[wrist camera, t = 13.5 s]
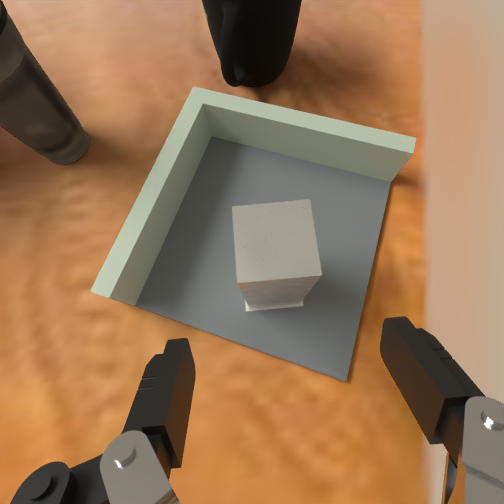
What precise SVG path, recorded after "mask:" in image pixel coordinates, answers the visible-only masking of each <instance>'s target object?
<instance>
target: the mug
mask: <svg viewBox="0 0 504 504" xmlns="http://www.w3.org/2000/svg"><path fill="white" fill-rule="evenodd" d="M202 2H203V6H204V10H205V14H206V18H207V22H208V25H209V29H210V32H211V36H212V39H213V42H214V45H215V48H216V51H217V54H218V56H219V59H220V62H221V70H222V74H223V77H224V79H225V81H226V82H227V84H229V85H230V86H233V87H238V86H240V85H246V86H261V85H265V84H267V83H269V82H271V81H273V80H274V79H276V78H277V77H278V76H279V75H280V74H281V72H282V71H283V69H284V67H285V65H286V63H287V61H288V58H289V55H290V52H291V48H292V45H293V41H294V37H295V32H296V27H297V23H298V17H299V12H300V6H301V0H202Z"/></svg>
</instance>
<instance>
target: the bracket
mask: <svg viewBox="0 0 504 504" xmlns="http://www.w3.org/2000/svg"><path fill="white" fill-rule="evenodd" d="M232 215H233V230H234V245H235V260H236V274H237V284H238V286H239V288H240V290H241V292H242V294H243V296H244V299H245V301H246V303H247V305H248V307H249V308H258V307H269V306H280V305H292V304H299V303H300V302H301V301H302V300H303V298H304V297H305V296H306V295H307V293H308V292H309V291H310V290H311V289H312V287H313V286H314V285H315V284H316V282H317V281H318V280H319V279H320V277H321V276H322V271H321V265H320V258H319V252H318V246H317V240H316V234H315V228H314V221H313V215H312V209H311V203H310V199H305V200H295V201H284V202H274V203H263V204H253V205H243V206H232Z"/></svg>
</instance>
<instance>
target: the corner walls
mask: <svg viewBox="0 0 504 504" xmlns="http://www.w3.org/2000/svg"><path fill="white" fill-rule="evenodd" d="M211 137H216V138H220V139H224V140H228V141H232V142H236V143H240V144H243V145H247V146H251V147H255V148H259V149H263V150H267V151H271V152H275V153H279V154H283V155H287V156H291V157H294V158H298V159H302V160H306V161H310V162H314V163H318V164H322V165H326V166H330V167H334V168H338V169H341V170H345V171H349V172H353V173H357V174H361V175H365V176H369V177H373V178H377V179H381V180H385V181H388V182H392V180H393V179H394V178H395V176H396V175H397V174H398V172H399V171H400V170H401V169H402V167H403V166H404V165H405V163H406V162H407V161H408V160H409V158H410V157H411V156H412V154H413V152H414V147H415V142H416V138H414V137H410V136H406V135H401V134H397V133H393V132H388V131H384V130H380V129H376V128H371V127H367V126H363V125H358V124H354V123H350V122H345V121H341V120H337V119H332V118H328V117H324V116H319V115H315V114H311V113H306V112H302V111H298V110H293V109H289V108H285V107H280V106H276V105H272V104H267V103H263V102H259V101H254V100H250V99H246V98H241V97H237V96H233V95H228V94H224V93H220V92H215V91H211V90H207V89H202V88H198V87H194V86H193V88H192V90H191V92H190V94H189V96H188V98H187V100H186V102H185V104H184V106H183V108H182V110H181V112H180V114H179V116H178V118H177V120H176V122H175V124H174V126H173V128H172V130H171V132H170V134H169V136H168V138H167V140H166V142H165V144H164V146H163V148H162V150H161V152H160V154H159V156H158V158H157V160H156V162H155V164H154V166H153V168H152V170H151V172H150V173H149V175H148V177H147V179H146V181H145V183H144V185H143V187H142V189H141V191H140V193H139V195H138V197H137V199H136V201H135V203H134V205H133V207H132V209H131V211H130V213H129V215H128V217H127V219H126V221H125V223H124V225H123V227H122V229H121V231H120V233H119V235H118V237H117V239H116V241H115V243H114V245H113V247H112V249H111V251H110V253H109V255H108V257H107V259H106V261H105V263H104V265H103V267H102V269H101V271H100V273H99V275H98V277H97V279H96V281H95V283H94V285H93V286H92V288H91V290H90V292H93V293H96V294H98V295H101V296H104V297H107V298H109V299H113V300H116V301H120V302H123V303H127V304H130V305H134V306H135V305H136V302H137V300H138V298H139V296H140V294H141V291H142V289H143V287H144V285H145V282H146V280H147V278H148V276H149V274H150V271H151V269H152V267H153V265H154V263H155V260H156V258H157V256H158V254H159V252H160V249H161V247H162V245H163V243H164V240H165V238H166V236H167V234H168V232H169V229H170V227H171V225H172V223H173V221H174V218H175V216H176V214H177V212H178V210H179V207H180V205H181V203H182V201H183V198H184V196H185V194H186V192H187V190H188V187H189V185H190V183H191V181H192V179H193V176H194V174H195V172H196V170H197V168H198V165H199V163H200V161H201V159H202V156H203V154H204V152H205V150H206V148H207V145H208V143H209V141H210V139H211Z"/></svg>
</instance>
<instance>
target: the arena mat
mask: <svg viewBox="0 0 504 504" xmlns="http://www.w3.org/2000/svg"><path fill="white" fill-rule="evenodd" d="M390 185H391V182H388V181H385V180H381V179H377V178H373V177H369V176H365V175H361V174H357V173H353V172H349V171H345V170H341V169H338V168H334V167H330V166H326V165H322V164H318V163H314V162H310V161H306V160H302V159H298V158H294V157H291V156H287V155H283V154H279V153H275V152H271V151H267V150H263V149H259V148H255V147H251V146H247V145H243V144H240V143H236V142H232V141H228V140H224V139H220V138H216V137H211V139H210V141H209V143H208V145H207V148H206V150H205V152H204V154H203V156H202V159H201V161H200V163H199V165H198V168H197V170H196V172H195V174H194V176H193V179H192V181H191V183H190V185H189V187H188V190H187V192H186V194H185V196H184V198H183V201H182V203H181V205H180V207H179V210H178V212H177V214H176V216H175V218H174V221H173V223H172V225H171V227H170V229H169V232H168V234H167V236H166V238H165V240H164V243H163V245H162V247H161V249H160V252H159V254H158V256H157V258H156V260H155V263H154V265H153V267H152V269H151V271H150V274H149V276H148V278H147V280H146V282H145V285H144V287H143V289H142V291H141V294H140V296H139V298H138V300H137V302H136V305H135V306H137V307H139V308H142V309H145V310H148V311H151V312H153V313H156V314H159V315H162V316H164V317H167V318H170V319H173V320H176V321H178V322H181V323H184V324H187V325H189V326H192V327H195V328H198V329H201V330H203V331H206V332H209V333H212V334H215V335H217V336H220V337H223V338H226V339H228V340H231V341H234V342H237V343H240V344H242V345H245V346H248V347H251V348H253V349H256V350H259V351H262V352H265V353H267V354H270V355H273V356H276V357H279V358H281V359H284V360H287V361H290V362H292V363H295V364H298V365H301V366H304V367H306V368H309V369H312V370H315V371H317V372H320V373H323V374H326V375H329V376H331V377H334V378H337V379H340V380H343V381H345V382H346V380H347V376H348V371H349V367H350V363H351V358H352V354H353V349H354V345H355V340H356V336H357V331H358V327H359V322H360V318H361V314H362V309H363V305H364V300H365V296H366V291H367V287H368V282H369V278H370V274H371V269H372V265H373V260H374V256H375V251H376V247H377V242H378V238H379V233H380V229H381V225H382V220H383V216H384V211H385V207H386V202H387V198H388V193H389V189H390ZM305 199H310V203H311V209H312V215H313V221H314V228H315V234H316V240H317V246H318V252H319V258H320V265H321V271H322V276H321V277H320V279H319V280H318V281H317V282H316V284H315V285H314V286H313V287H312V289H311V290H310V291H309V292H308V293H307V295H306V296H305V297H304V298H303V300H302V301H301V302H300V303H299V304H292V305H280V306H269V307H258V308H249V307H248V305H247V303H246V301H245V299H244V296H243V294H242V292H241V290H240V288H239V286H238V284H237V274H236V260H235V245H234V230H233V215H232V206H243V205H253V204H263V203H274V202H284V201H295V200H305Z"/></svg>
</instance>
